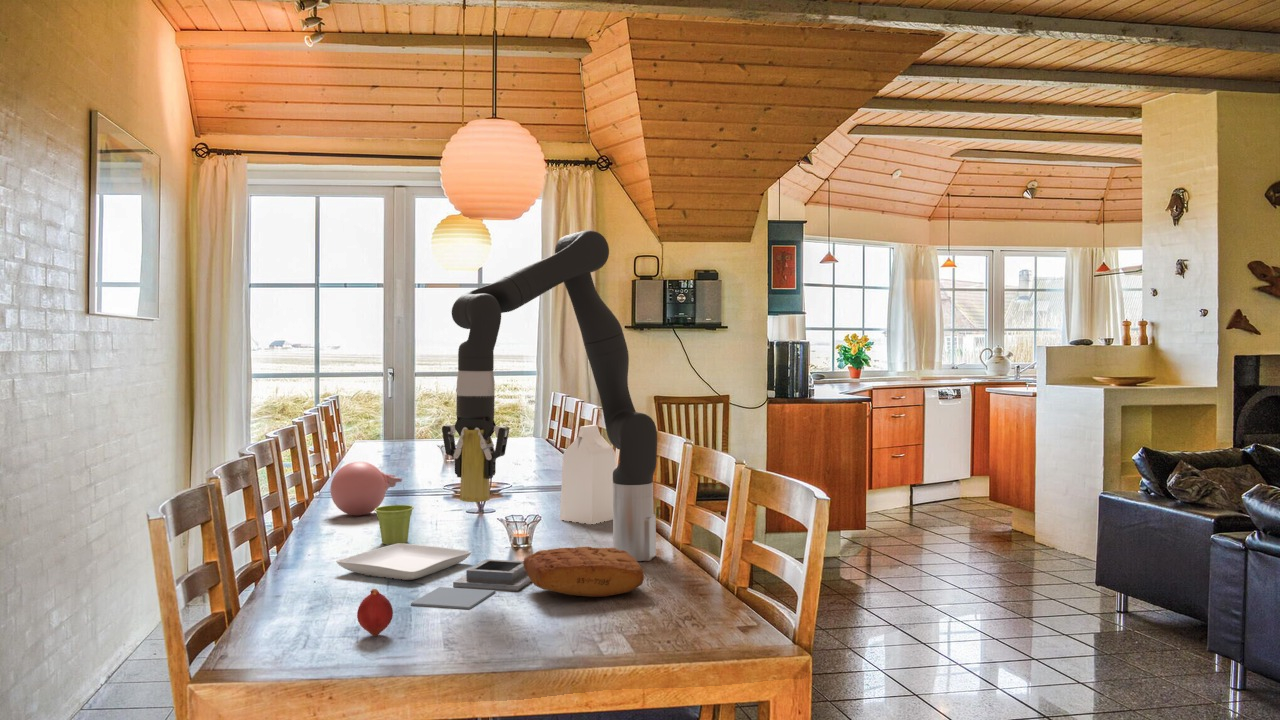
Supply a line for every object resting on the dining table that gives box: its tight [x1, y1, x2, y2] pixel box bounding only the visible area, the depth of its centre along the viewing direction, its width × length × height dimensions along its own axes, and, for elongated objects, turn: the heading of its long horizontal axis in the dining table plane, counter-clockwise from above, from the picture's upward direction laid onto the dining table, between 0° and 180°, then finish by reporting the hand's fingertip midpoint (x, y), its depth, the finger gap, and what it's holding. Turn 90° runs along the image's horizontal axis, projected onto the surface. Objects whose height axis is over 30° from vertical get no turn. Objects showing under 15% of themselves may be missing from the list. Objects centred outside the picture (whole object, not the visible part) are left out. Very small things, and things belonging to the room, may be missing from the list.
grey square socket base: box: [452, 558, 532, 592], centre depth 196 cm, size 14×14×3 cm
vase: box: [459, 429, 491, 503], centre depth 190 cm, size 6×6×14 cm
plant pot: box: [374, 504, 414, 546], centre depth 234 cm, size 9×9×9 cm
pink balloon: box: [330, 461, 403, 517], centre depth 273 cm, size 15×20×15 cm
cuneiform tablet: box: [523, 546, 645, 598], centre depth 186 cm, size 22×17×8 cm
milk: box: [559, 424, 617, 525], centre depth 263 cm, size 12×12×26 cm
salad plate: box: [336, 543, 472, 581], centre depth 207 cm, size 21×21×3 cm
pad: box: [410, 586, 496, 610], centre depth 183 cm, size 12×12×1 cm
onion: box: [356, 588, 394, 637], centre depth 160 cm, size 6×6×8 cm
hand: (474, 477), depth 190 cm, fingers closed on vase, 5 cm apart
